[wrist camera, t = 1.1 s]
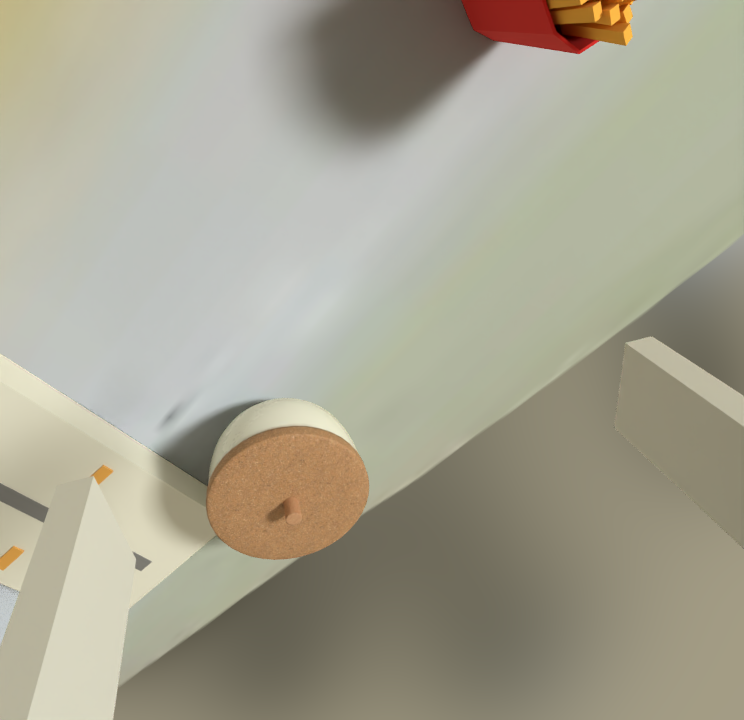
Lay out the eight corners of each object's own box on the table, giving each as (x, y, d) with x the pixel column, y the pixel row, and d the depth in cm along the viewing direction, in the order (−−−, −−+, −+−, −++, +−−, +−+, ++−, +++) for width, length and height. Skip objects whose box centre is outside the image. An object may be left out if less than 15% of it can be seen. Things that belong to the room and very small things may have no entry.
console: (-217, 454, 34) (-247, 482, 32) (-73, 306, 32) (-95, 325, 30) (111, 601, 47) (106, 629, 44) (230, 500, 45) (230, 524, 42)
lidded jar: (175, 437, 41) (166, 529, 33) (284, 346, 39) (302, 419, 31) (274, 508, 46) (286, 601, 38) (372, 430, 45) (406, 510, 37)
